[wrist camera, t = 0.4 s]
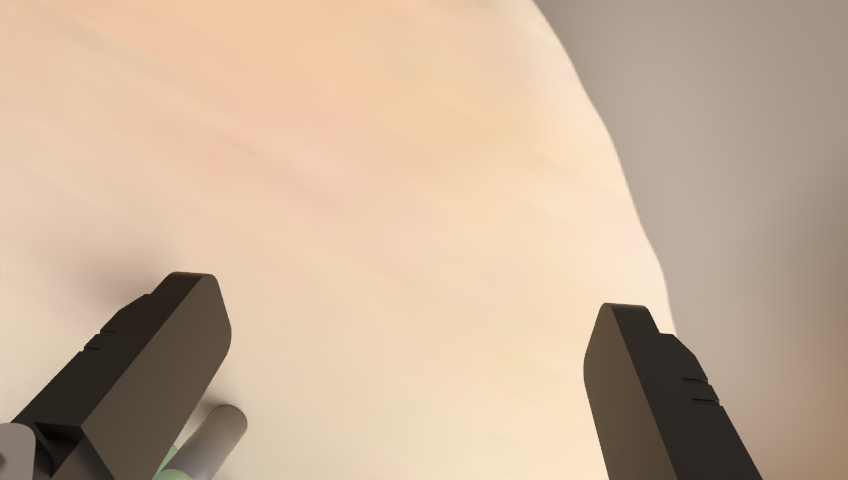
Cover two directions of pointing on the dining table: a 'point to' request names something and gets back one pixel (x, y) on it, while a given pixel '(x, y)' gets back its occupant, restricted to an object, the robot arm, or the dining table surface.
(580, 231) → the dining table surface
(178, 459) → the green-capped canister
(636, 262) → the dining table surface
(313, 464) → the dining table surface
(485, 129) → the dining table surface
